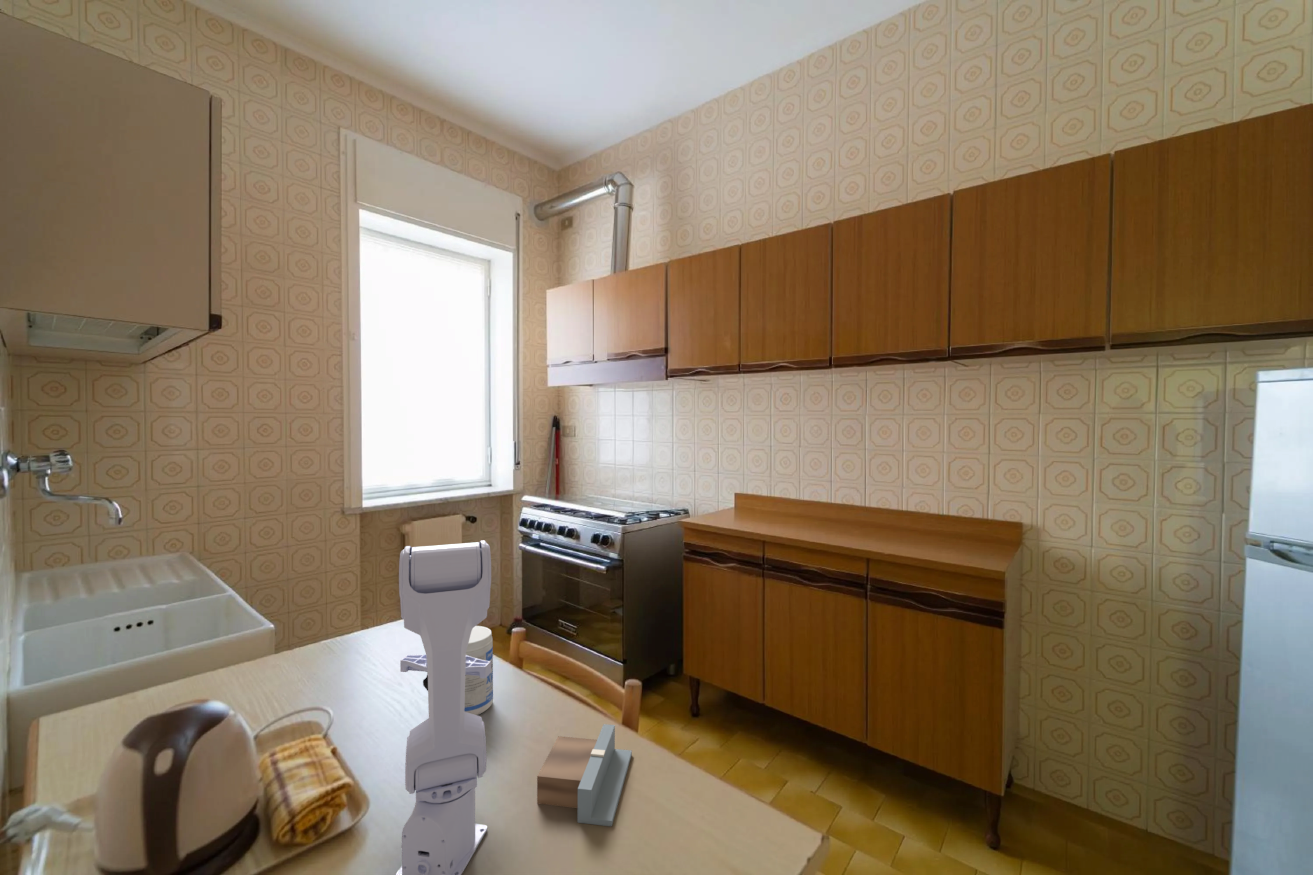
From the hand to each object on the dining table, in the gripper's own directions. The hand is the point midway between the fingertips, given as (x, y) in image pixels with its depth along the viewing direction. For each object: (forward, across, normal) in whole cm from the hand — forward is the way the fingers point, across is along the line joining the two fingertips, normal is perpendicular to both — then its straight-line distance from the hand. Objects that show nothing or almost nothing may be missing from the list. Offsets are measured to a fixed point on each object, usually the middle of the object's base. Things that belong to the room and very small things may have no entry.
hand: (445, 716), depth 85 cm
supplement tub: (+10, +6, -19) cm, 22 cm away
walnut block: (+10, -20, -1) cm, 23 cm away
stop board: (+9, -26, -1) cm, 28 cm away
